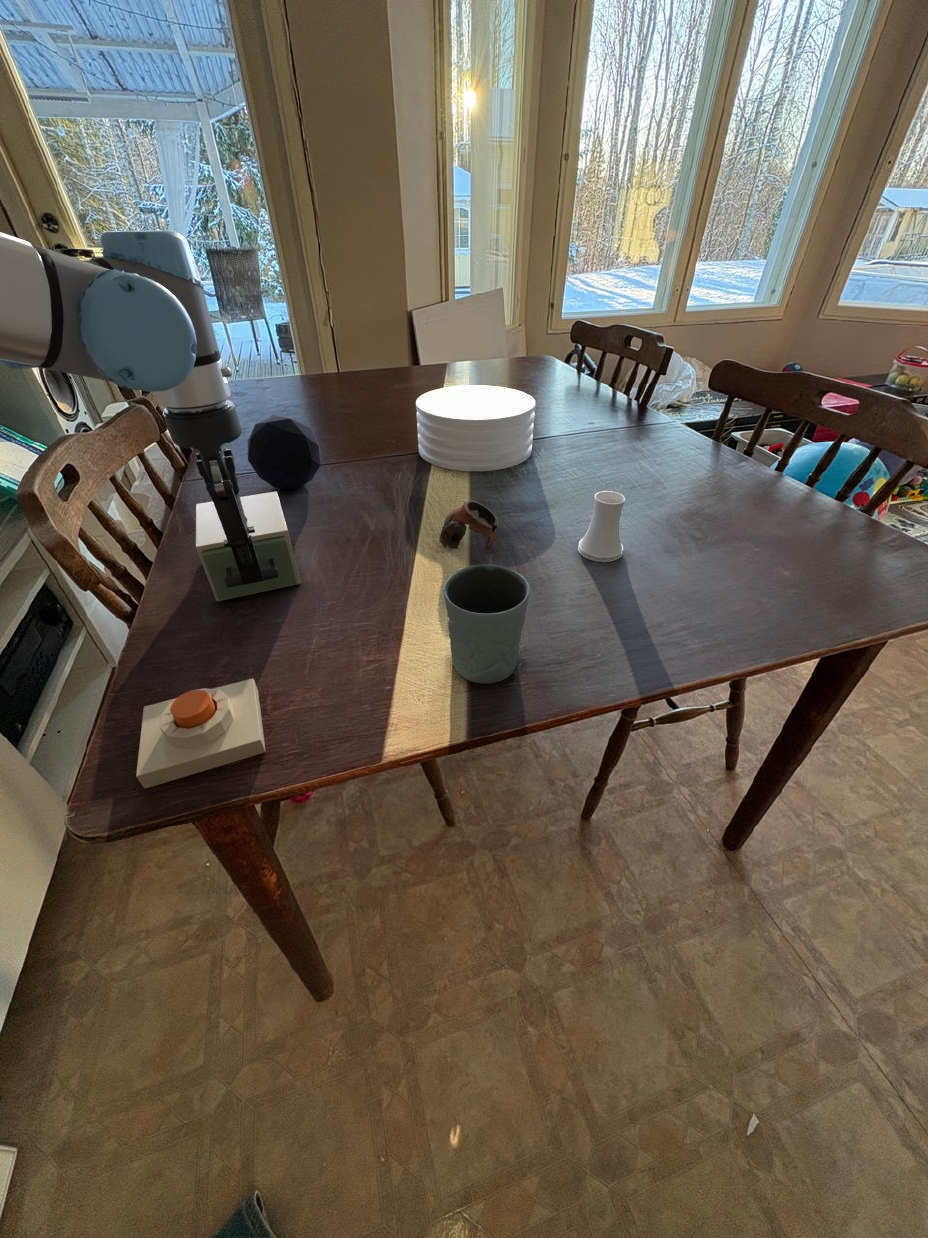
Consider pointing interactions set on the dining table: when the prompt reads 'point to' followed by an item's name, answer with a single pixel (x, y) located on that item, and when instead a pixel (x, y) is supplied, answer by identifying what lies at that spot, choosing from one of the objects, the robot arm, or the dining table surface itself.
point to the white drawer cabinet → (259, 513)
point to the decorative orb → (283, 452)
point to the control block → (200, 736)
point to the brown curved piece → (461, 516)
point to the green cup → (485, 620)
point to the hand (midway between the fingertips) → (253, 580)
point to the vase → (604, 529)
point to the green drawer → (272, 565)
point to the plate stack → (475, 427)
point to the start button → (193, 709)
